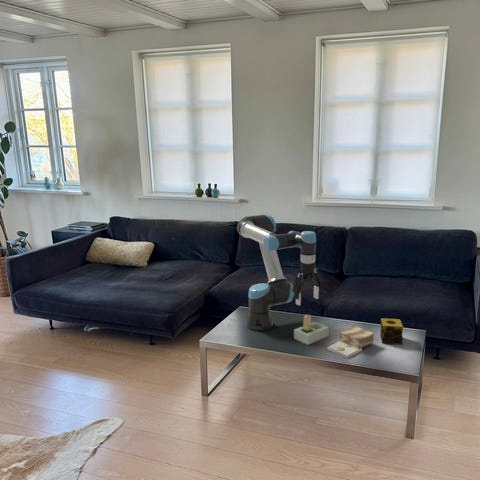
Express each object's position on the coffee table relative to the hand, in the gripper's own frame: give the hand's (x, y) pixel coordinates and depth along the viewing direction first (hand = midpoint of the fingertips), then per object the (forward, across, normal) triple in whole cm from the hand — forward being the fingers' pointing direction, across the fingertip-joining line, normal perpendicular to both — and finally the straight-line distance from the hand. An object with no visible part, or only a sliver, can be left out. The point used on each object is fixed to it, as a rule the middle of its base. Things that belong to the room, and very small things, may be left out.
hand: (307, 301), depth 235 cm
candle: (+21, +31, -30) cm, 49 cm away
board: (+21, +4, -21) cm, 30 cm away
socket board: (+21, +3, 0) cm, 21 cm away
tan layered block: (+19, +14, -21) cm, 32 cm away
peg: (+20, 0, 0) cm, 20 cm away
